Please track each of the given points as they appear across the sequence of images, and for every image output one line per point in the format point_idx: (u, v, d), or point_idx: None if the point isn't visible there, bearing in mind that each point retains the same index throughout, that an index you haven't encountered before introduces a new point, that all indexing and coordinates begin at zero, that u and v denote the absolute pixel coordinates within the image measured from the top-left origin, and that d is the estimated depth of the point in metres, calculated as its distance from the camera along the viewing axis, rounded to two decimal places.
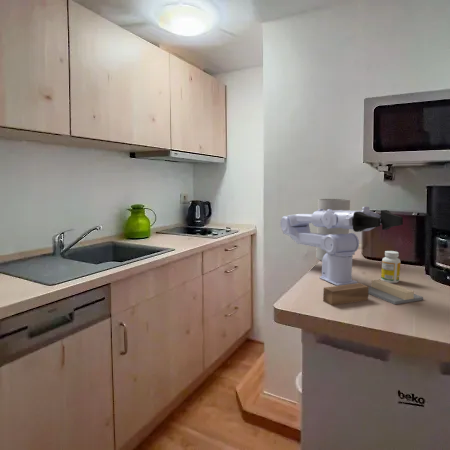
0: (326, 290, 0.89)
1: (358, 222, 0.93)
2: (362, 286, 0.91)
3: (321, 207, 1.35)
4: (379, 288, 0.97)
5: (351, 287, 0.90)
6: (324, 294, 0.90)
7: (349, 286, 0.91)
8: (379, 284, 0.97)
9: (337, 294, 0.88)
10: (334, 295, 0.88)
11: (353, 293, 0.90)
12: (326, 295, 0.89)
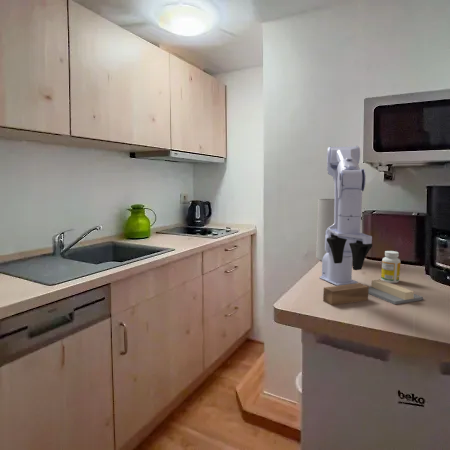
0: (326, 290, 0.89)
1: None
2: (362, 286, 0.91)
3: (321, 207, 1.35)
4: (379, 288, 0.97)
5: (351, 287, 0.90)
6: (324, 294, 0.90)
7: (349, 286, 0.91)
8: (379, 284, 0.97)
9: (337, 294, 0.88)
10: (334, 295, 0.88)
11: (353, 293, 0.90)
12: (326, 295, 0.89)
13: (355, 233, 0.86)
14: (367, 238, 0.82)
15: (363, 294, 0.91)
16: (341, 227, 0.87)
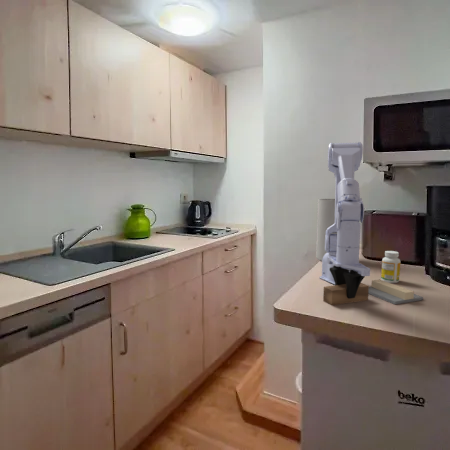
0: (326, 289, 0.89)
1: None
2: (362, 285, 0.91)
3: (321, 207, 1.35)
4: (379, 288, 0.97)
5: None
6: (324, 293, 0.90)
7: None
8: (379, 284, 0.97)
9: (337, 294, 0.88)
10: (335, 294, 0.88)
11: None
12: (327, 294, 0.89)
13: (354, 264, 0.87)
14: (365, 270, 0.83)
15: (363, 293, 0.91)
16: (339, 258, 0.88)
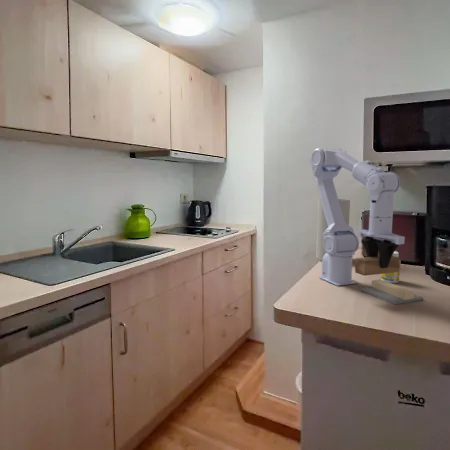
0: (358, 260, 0.91)
1: None
2: (393, 257, 0.93)
3: (321, 207, 1.35)
4: (379, 288, 0.97)
5: None
6: (356, 264, 0.92)
7: None
8: (379, 284, 0.97)
9: (369, 264, 0.90)
10: (367, 265, 0.89)
11: None
12: (359, 265, 0.91)
13: (387, 234, 0.89)
14: (400, 239, 0.85)
15: (394, 265, 0.93)
16: (373, 228, 0.90)
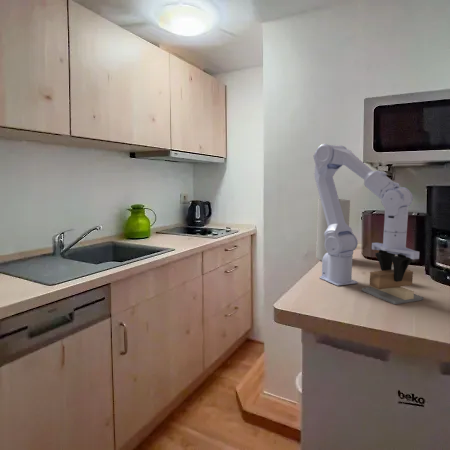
0: (373, 274, 0.93)
1: None
2: (407, 271, 0.95)
3: (321, 207, 1.35)
4: None
5: None
6: (371, 278, 0.94)
7: None
8: None
9: (384, 278, 0.91)
10: (382, 279, 0.91)
11: None
12: (373, 279, 0.93)
13: (401, 248, 0.91)
14: (415, 254, 0.87)
15: (408, 278, 0.94)
16: (387, 242, 0.92)
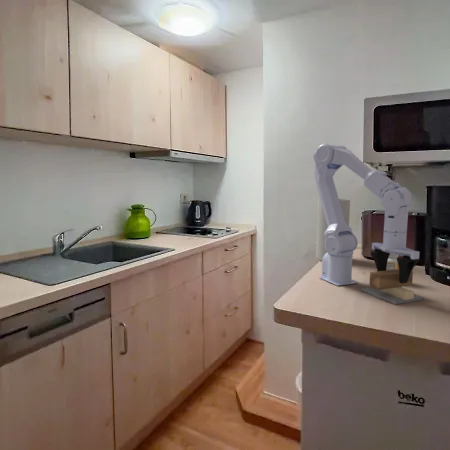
0: (373, 274, 0.93)
1: None
2: None
3: (321, 207, 1.35)
4: None
5: (396, 272, 0.94)
6: (371, 278, 0.94)
7: (394, 271, 0.95)
8: None
9: (384, 278, 0.91)
10: (382, 279, 0.91)
11: None
12: (373, 279, 0.93)
13: (401, 248, 0.91)
14: (415, 254, 0.87)
15: (408, 279, 0.95)
16: (387, 242, 0.92)
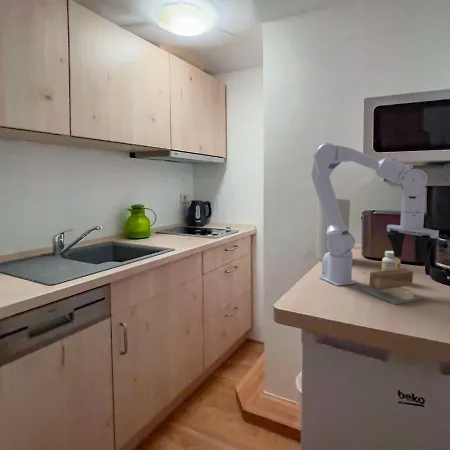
0: (373, 274, 0.93)
1: None
2: (407, 271, 0.95)
3: None
4: None
5: (396, 272, 0.94)
6: (371, 278, 0.94)
7: (394, 271, 0.95)
8: None
9: (384, 278, 0.91)
10: (382, 279, 0.91)
11: (399, 277, 0.93)
12: (373, 279, 0.93)
13: (420, 228, 0.92)
14: (435, 233, 0.88)
15: (408, 279, 0.95)
16: (406, 223, 0.93)
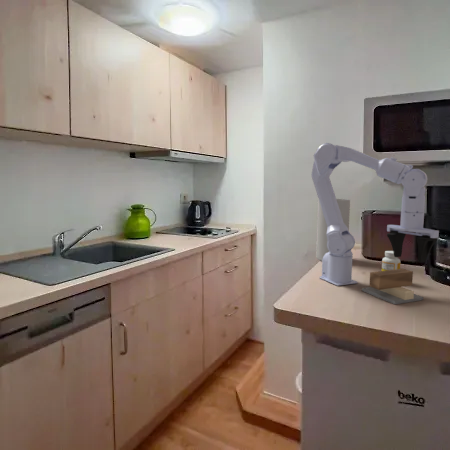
0: (373, 274, 0.93)
1: None
2: (407, 271, 0.95)
3: None
4: None
5: (396, 272, 0.94)
6: (371, 278, 0.94)
7: (394, 271, 0.95)
8: None
9: (384, 278, 0.91)
10: (382, 279, 0.91)
11: (399, 277, 0.93)
12: (373, 279, 0.93)
13: (420, 228, 0.92)
14: (435, 233, 0.88)
15: (408, 279, 0.95)
16: (406, 223, 0.93)
